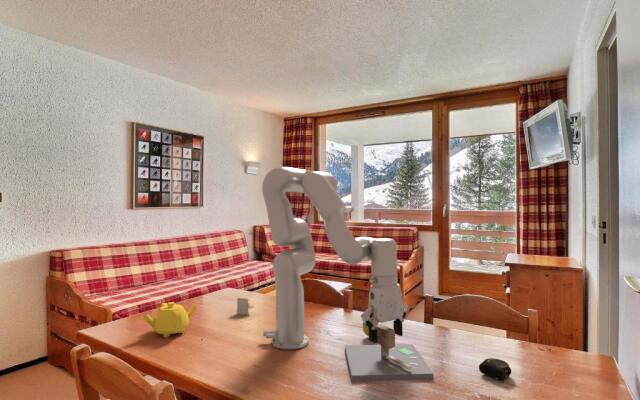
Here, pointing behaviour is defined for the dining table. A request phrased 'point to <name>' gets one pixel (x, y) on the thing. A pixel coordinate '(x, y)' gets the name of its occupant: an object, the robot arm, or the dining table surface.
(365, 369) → the board
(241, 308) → the architectural model
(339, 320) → the dining table surface
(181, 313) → the teapot
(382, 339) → the wooden block with handle
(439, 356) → the dining table surface
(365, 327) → the lemon
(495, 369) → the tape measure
